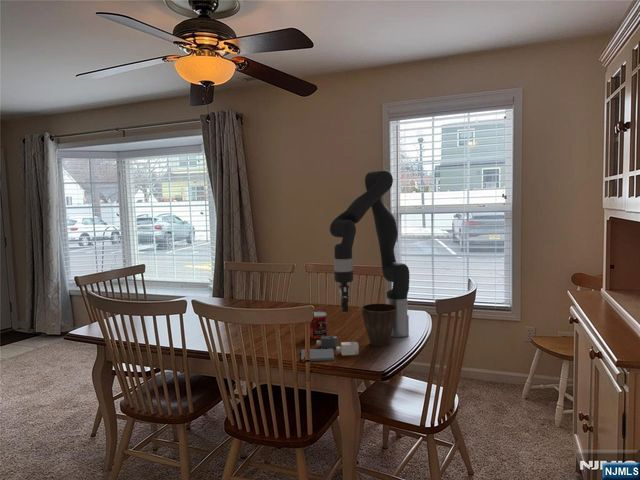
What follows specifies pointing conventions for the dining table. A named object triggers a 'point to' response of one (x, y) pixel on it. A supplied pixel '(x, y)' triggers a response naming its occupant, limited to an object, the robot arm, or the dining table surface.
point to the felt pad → (319, 354)
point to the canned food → (318, 325)
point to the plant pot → (379, 322)
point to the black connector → (328, 342)
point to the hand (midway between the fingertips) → (344, 309)
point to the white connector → (349, 348)
